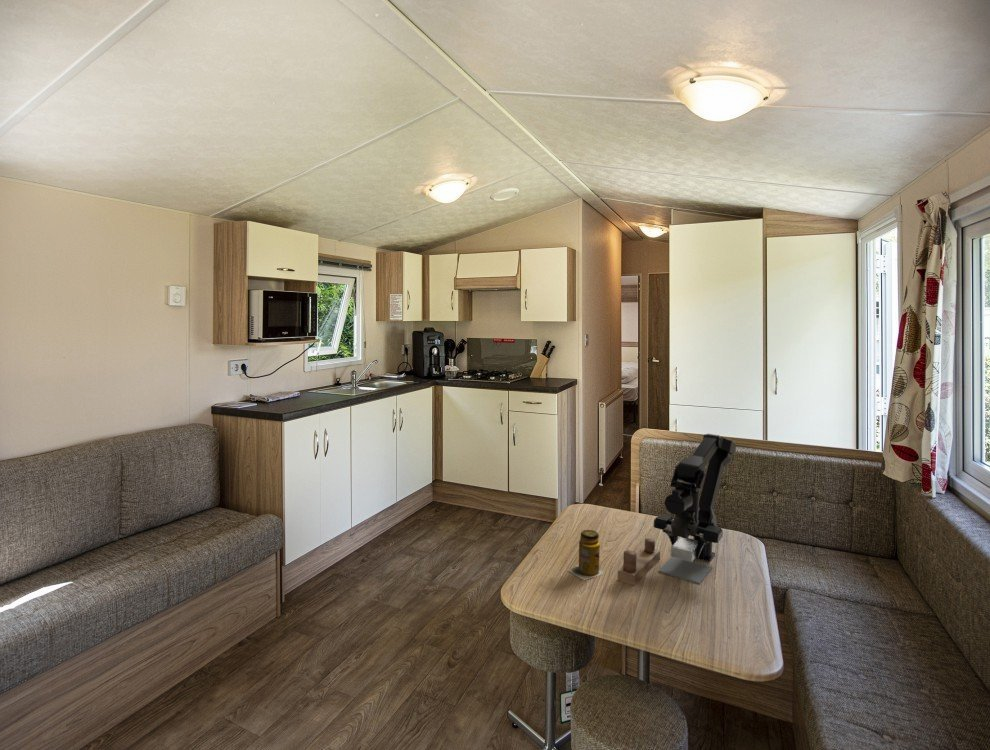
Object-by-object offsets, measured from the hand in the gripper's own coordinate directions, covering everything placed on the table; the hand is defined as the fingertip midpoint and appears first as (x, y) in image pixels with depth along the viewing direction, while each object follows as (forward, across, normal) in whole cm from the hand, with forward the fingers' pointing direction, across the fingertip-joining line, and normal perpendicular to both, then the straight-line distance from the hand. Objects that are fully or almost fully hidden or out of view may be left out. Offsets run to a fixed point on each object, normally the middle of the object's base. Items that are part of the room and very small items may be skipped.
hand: (686, 555), depth 158 cm
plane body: (+5, -11, -8) cm, 14 cm away
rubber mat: (+5, 0, 0) cm, 5 cm away
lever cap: (0, 0, 0) cm, 1 cm away
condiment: (+5, -23, -19) cm, 30 cm away
